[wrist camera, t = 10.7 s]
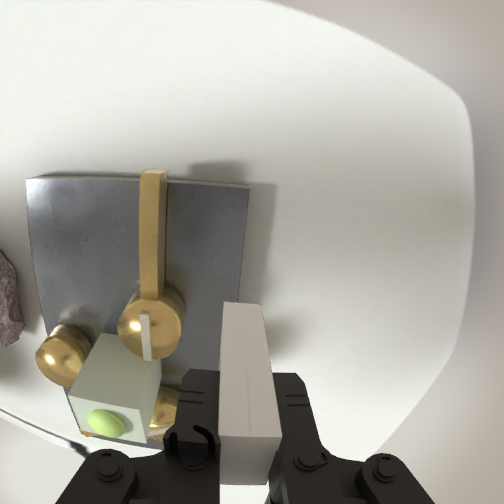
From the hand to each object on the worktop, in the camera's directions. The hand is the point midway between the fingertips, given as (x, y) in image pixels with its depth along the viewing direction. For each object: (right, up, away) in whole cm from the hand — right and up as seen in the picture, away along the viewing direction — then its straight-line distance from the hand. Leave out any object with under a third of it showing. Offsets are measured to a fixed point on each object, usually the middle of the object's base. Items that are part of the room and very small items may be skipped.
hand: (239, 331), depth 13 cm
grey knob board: (-12, -6, +18) cm, 22 cm away
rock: (-29, -1, +15) cm, 32 cm away
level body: (-11, -7, +16) cm, 21 cm away
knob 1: (-7, +3, +12) cm, 14 cm away
